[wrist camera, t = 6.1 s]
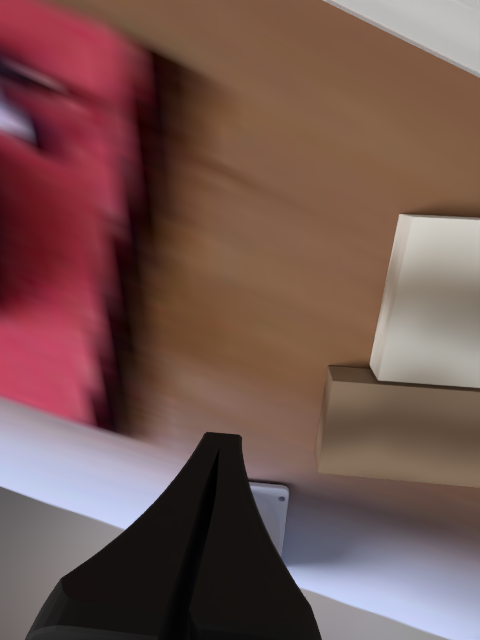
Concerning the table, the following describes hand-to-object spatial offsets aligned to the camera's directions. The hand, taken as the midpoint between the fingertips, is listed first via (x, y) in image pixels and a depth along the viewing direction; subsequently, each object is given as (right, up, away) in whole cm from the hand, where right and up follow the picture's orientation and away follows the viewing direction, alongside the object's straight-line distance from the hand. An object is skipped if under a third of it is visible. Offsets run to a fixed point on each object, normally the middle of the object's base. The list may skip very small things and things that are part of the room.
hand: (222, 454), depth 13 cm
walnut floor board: (+14, -2, +10) cm, 17 cm away
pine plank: (+14, +6, +6) cm, 17 cm away
